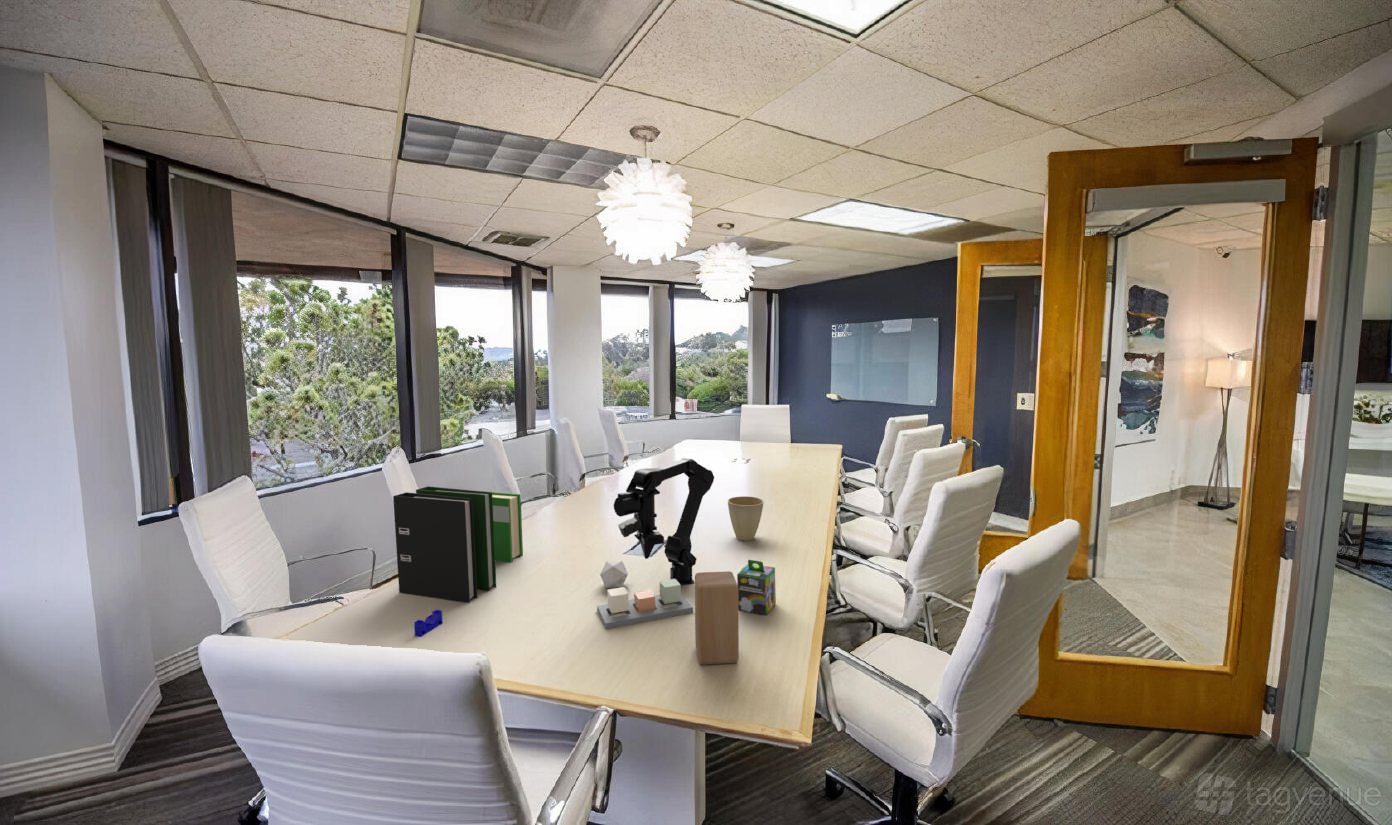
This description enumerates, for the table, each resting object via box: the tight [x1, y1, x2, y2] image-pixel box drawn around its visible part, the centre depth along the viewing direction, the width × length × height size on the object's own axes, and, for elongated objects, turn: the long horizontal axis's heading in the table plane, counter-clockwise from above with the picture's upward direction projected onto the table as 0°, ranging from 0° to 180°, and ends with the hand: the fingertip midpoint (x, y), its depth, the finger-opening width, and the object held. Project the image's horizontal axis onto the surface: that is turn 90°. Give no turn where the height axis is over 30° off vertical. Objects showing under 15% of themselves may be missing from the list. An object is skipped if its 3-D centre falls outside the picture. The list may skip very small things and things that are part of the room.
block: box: [694, 570, 740, 665], centre depth 138 cm, size 10×10×20 cm
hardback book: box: [483, 490, 524, 563], centre depth 210 cm, size 18×7×24 cm, turn 72°
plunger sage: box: [659, 579, 682, 605], centre depth 166 cm, size 5×5×5 cm
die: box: [599, 560, 629, 589], centre depth 182 cm, size 8×9×10 cm
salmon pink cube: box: [633, 589, 656, 612], centre depth 163 cm, size 5×5×5 cm
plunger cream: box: [606, 586, 630, 614], centre depth 160 cm, size 5×5×5 cm
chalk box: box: [736, 559, 777, 617], centre depth 165 cm, size 9×9×15 cm
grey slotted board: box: [596, 593, 694, 630], centre depth 163 cm, size 26×12×2 cm, turn 112°
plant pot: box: [727, 495, 765, 542], centre depth 229 cm, size 15×15×16 cm
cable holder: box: [413, 609, 444, 638], centre depth 154 cm, size 8×4×4 cm, turn 162°
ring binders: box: [392, 485, 497, 604], centre depth 179 cm, size 27×15×32 cm, turn 71°
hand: (646, 558), depth 174 cm, fingers closed
